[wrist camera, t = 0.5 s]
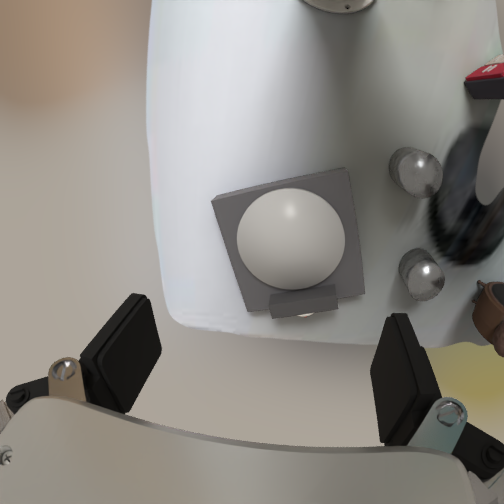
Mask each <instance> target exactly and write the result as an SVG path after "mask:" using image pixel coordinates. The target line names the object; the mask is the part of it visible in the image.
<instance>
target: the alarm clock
mask: <svg viewBox="0 0 504 504" xmlns="http://www.w3.org/2000/svg"><path fill="white" fill-rule="evenodd" d="M478 283H479V284H481V285H482V286H483V287H484V289H483V291H482V293H481V294H480V296H479V298H478V300H477V301H475V300H472V302H473V303H475V304H476V306H475V309H474V311H473V314H472V318H473V322H474V324H475V326H476V328H477V330H478V331H479V332H480V334H481V335H482V336H483V337H484V338H485V339H486V340H487V341H489V342H490V343H491V344H493V345H494V348H495V351H496V352H497V353H498V355H500V356H502V357H504V283H503V282H489V283H487V284H485V283H483V282H481V281H480V280H478Z"/></svg>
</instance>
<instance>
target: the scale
mask: <svg viewBox="0 0 504 504" xmlns="http://www.w3.org/2000/svg"><path fill="white" fill-rule="evenodd" d="M211 203H212V206H213V209H214V212H215V215H216V218H217V221H218V224H219V227H220V230H221V234H222V237H223V240H224V243H225V246H226V249H227V252H228V255H229V258H230V261H231V264H232V267H233V270H234V273H235V276H236V279H237V282H238V285H239V288H240V291H241V294H242V297H243V299H244V302H245V305H246V308H247V311H248V312H252V311H260V310H268V309H270V313H271V316H272V319H274V318H282V317H289V316H299V317H307V316H310V315H312V314H314V313H316V312H323V311H329V310H335V309H338V302H337V299H339V298H345V297H351V296H356V295H362V294H365V287H364V277H363V268H362V259H361V251H360V243H359V235H358V228H357V222H356V215H355V209H354V203H353V197H352V191H351V186H350V180H349V175H348V171H347V170H346V169H345V168H340V169H334V170H329V171H324V172H319V173H314V174H309V175H304V176H299V177H294V178H290V179H285V180H280V181H276V182H271V183H267V184H263V185H258V186H254V187H250V188H245V189H241V190H237V191H233V192H229V193H225V194H221V195H217V196H216V197H215V198H214V199H213V200H212V201H211Z"/></svg>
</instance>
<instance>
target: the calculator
mask: <svg viewBox="0 0 504 504" xmlns="http://www.w3.org/2000/svg"><path fill="white" fill-rule="evenodd" d="M466 80H467V81H465V82H464V83H465V85H466V87H467V88H468V90H469V92H470V94H471V95H472V97H473V99H504V54H503V55H498V56H497V57H495V58H494V59H492V60H491V61H489V62H488V63H486V64H485V65H484V66H483V67H480V68H479V69H477V70H476V71H474V72H473V73H472V74H470V75H469V76H467V77H466Z"/></svg>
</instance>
